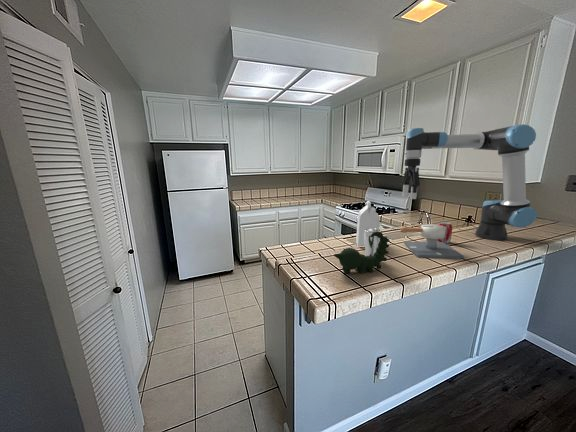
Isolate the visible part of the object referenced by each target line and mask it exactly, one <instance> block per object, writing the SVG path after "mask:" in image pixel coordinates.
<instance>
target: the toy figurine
mask: <svg viewBox="0 0 576 432" xmlns="http://www.w3.org/2000/svg"><path fill="white" fill-rule="evenodd" d="M373 236H377V237H378V238H379V243H378V247H377V249H376V252H375V253H374V255H373V256H365V254H362V253H360V252H359V251H358V250H357V249H356V248H353V247H347V248H344V249H343V250H341V252H340V253H335V254H333V256H334V257H335V258H337V259H338V260H339V264H340V265H341V267H342V271H343V273H345V274H350V273H351V270H353V271H354V270H356V269H358V272H360V273H361V274H364V273H365V272H366V270H368V272H369V273H373V272H374V268H376V269H378V270H380V269H382V265H381V262H387V261H388V258H387V257H385V255H388V254H389V251H388V250H387V248H389V247H390V245H389V244H388V243H389V242H390V238H388V237H387V236H385V235H384V234H383V233H382V232H381V231H379V232H374V233H372V234H371V236H370V237H373Z"/></svg>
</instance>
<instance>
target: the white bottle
mask: <svg viewBox="0 0 576 432" xmlns="http://www.w3.org/2000/svg"><path fill="white" fill-rule="evenodd" d="M445 230H446V228H445V227H444V226H440V225H438V224H431V223H429V224H428V223H427V224H421V225H420V227H407V226H401V227H400V233H403V234H404V233H420V235H419V236H421V237H423V238H431V239H443V238H445Z"/></svg>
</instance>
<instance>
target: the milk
mask: <svg viewBox="0 0 576 432" xmlns="http://www.w3.org/2000/svg"><path fill="white" fill-rule="evenodd" d="M371 203H372V202H371V201H369V200H367V201H366V203H365V204H366V205H365V206H363V207H362V208H361V210H359V211H358V213H357V223H356V239H355V242H356V245H357V247H358V246H365V245H364V231H365V229H368V228H373V229H377V230H379V231H380V216H379V214H378V213H377V212H376V211H377V209H376V208H375V207H374V206H372V205H371ZM379 242H380V240H379V241H378V243H379ZM377 247H378V246H377Z"/></svg>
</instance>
